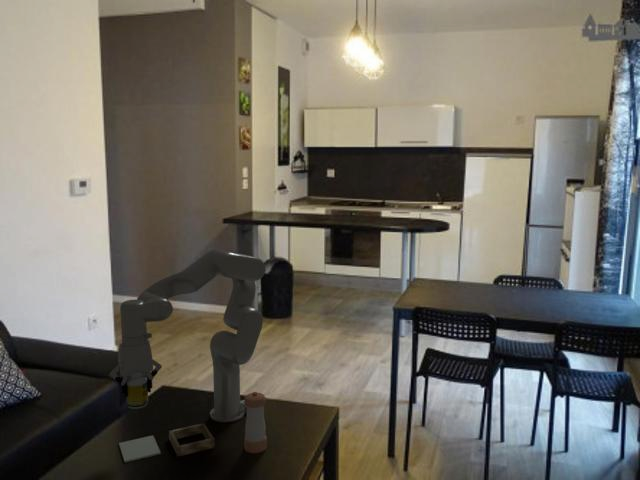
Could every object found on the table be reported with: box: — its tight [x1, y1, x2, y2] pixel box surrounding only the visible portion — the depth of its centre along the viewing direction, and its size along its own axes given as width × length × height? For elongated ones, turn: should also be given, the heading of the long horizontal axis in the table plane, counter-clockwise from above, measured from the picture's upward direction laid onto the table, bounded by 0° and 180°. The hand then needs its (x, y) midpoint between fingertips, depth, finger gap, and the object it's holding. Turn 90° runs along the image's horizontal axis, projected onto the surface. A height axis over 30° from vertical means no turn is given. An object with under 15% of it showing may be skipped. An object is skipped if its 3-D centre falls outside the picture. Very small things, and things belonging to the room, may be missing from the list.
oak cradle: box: [168, 422, 216, 457], centre depth 182 cm, size 12×12×3 cm
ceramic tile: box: [118, 435, 161, 463], centre depth 178 cm, size 11×12×1 cm
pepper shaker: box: [243, 391, 268, 454], centre depth 178 cm, size 7×7×19 cm
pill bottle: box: [126, 372, 149, 410], centre depth 175 cm, size 6×6×12 cm
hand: (137, 392), depth 175 cm, fingers closed on pill bottle, 6 cm apart
